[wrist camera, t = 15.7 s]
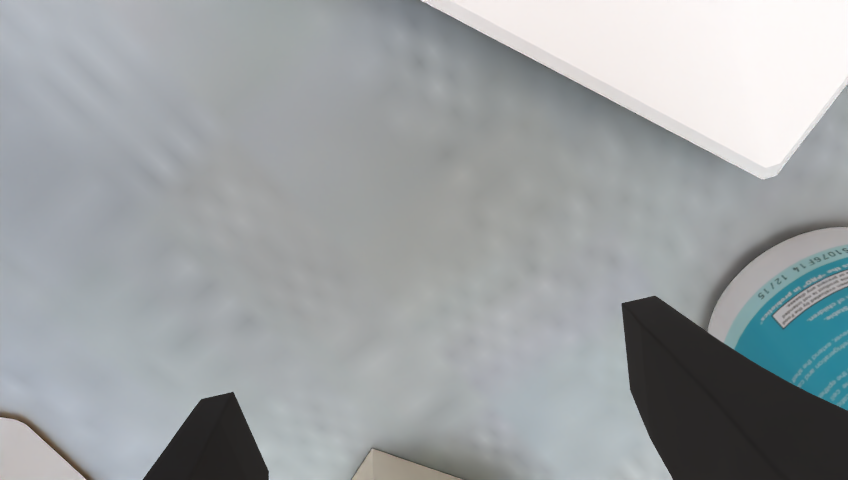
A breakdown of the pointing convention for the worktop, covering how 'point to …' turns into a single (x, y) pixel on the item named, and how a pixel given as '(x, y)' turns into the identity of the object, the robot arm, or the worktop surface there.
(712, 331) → the pill bottle
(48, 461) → the cup
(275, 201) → the worktop surface
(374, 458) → the beige block
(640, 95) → the plate
